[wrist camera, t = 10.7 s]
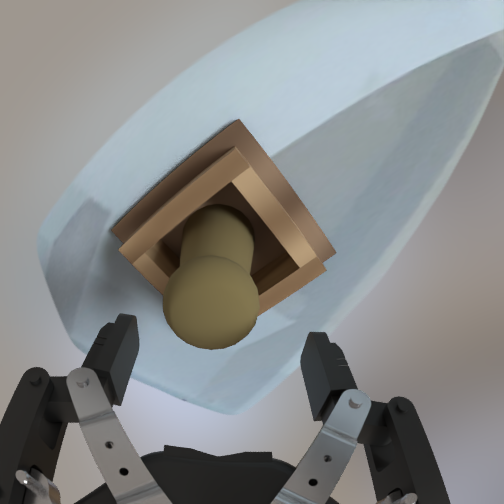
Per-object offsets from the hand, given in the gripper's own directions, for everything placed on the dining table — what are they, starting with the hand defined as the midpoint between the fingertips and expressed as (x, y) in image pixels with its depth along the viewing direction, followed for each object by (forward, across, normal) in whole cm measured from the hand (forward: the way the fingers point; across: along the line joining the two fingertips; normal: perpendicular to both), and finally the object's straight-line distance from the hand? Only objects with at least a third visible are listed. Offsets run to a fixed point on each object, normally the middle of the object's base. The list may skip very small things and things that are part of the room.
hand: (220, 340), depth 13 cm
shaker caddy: (+13, 0, 0) cm, 13 cm away
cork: (+12, +1, 0) cm, 12 cm away
